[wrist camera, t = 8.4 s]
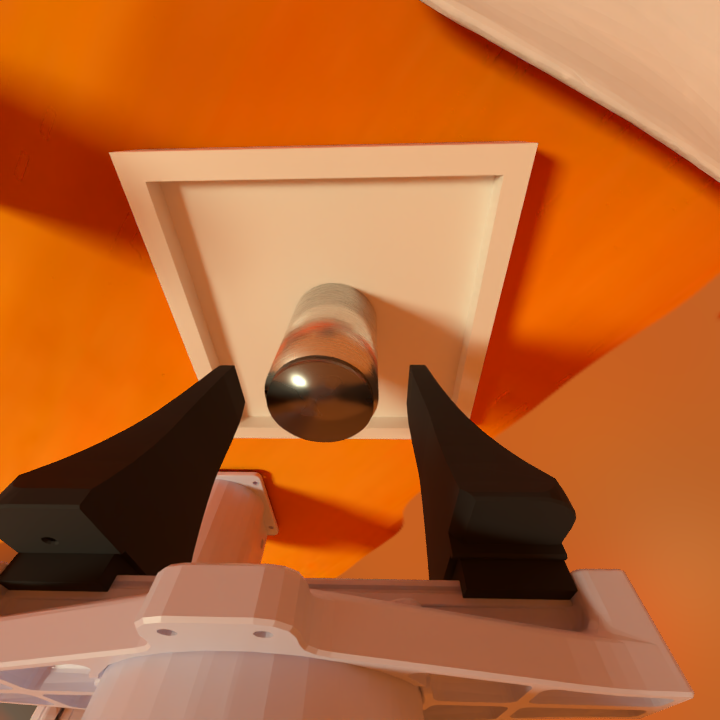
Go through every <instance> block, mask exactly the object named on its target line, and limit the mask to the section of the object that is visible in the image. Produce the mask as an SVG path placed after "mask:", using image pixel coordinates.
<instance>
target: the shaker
mask: <svg viewBox="0 0 720 720" xmlns="http://www.w3.org/2000/svg"><path fill="white" fill-rule="evenodd" d="M265 398H266V402H267V407H268V410H269V412H270V414H271V416H272V418H273V419H274V420H275V422H276V423H277V424H278V425H279V426H280V427H282V428H283V429H284V430H286V431H287V432H289V433H291V434H292V435H294V436H297V437H299V438H302V439H305V440H310V441H315V442H335V441H340V440H344V439H347V438H350V437H352V436H354V435H356V434H357V433H359V432H360V431H362V430H363V429H364V428H365V427H366V426H367V424H368V423H369V421H370V419H371V417H372V416H373V415H374V413H375V411H376V409H377V406H378V400H379V389H378V355H377V321H376V313H375V310H374V308H373V306H372V304H371V302H370V301H369V299H368V298H367V297H366V296H365V295H364V294H363V293H361V292H360V291H359V290H357V289H355V288H353V287H351V286H348V285H345V284H340V283H325V284H321V285H318V286H315V287H313V288H311V289H310V290H308V291H307V292H306V293H305V294H304V295H303V296H302V297H301V298H300V300H299V301H298V303H297V305H296V308H295V310H294V313H293V315H292V318H291V320H290V322H289V325H288V327H287V330H286V332H285V335H284V337H283V339H282V342H281V344H280V347H279V349H278V352H277V354H276V356H275V359H274V361H273V364H272V366H271V369H270V371H269V373H268V376H267V378H266V381H265Z"/></svg>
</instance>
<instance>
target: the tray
mask: <svg viewBox="0 0 720 720" xmlns="http://www.w3.org/2000/svg"><path fill="white" fill-rule="evenodd" d="M537 146H538V143H533V142H523V141H497V142H451V143H406V144H360V145H315V146H269V147H223V148H178V149H138V150H128V151H117V152H109V154H110V157H111V159H112V162H113V164H114V167H115V170H116V172H117V175H118V177H119V180H120V182H121V185H122V187H123V190H124V192H125V195H126V197H127V200H128V203H129V205H130V208H131V210H132V213H133V215H134V218H135V220H136V223H137V225H138V228H139V231H140V233H141V236H142V238H143V241H144V243H145V246H146V248H147V251H148V253H149V256H150V258H151V261H152V264H153V266H154V269H155V271H156V274H157V276H158V279H159V281H160V284H161V286H162V289H163V292H164V294H165V297H166V299H167V302H168V304H169V307H170V309H171V312H172V314H173V317H174V319H175V322H176V325H177V327H178V330H179V332H180V335H181V337H182V340H183V342H184V345H185V347H186V350H187V352H188V355H189V358H190V360H191V363H192V365H193V368H194V370H195V373H196V375H197V378H198V380H201V379H202V378H203V377H204V376H206V375H207V374H208V373H210V372H211V371H212V370H214V369H215V368H217V367H218V366H220V365H235V369H236V372H237V375H238V379H239V382H240V386H241V389H242V392H243V396H244V399H245V406H244V410H243V414H242V417H241V420H240V424H239V426H238V428H237V431H236V433H235V435H234V437H233V438H299V437H297V436H294V435H292V434H291V433H289V432H287V431H286V430H284V429H283V428H282V427H280V426H279V425H278V424H277V423H276V422H275V420H274V419H273V418H272V416H271V414H270V412H269V410H268V407H267V402H266V398H265V381H266V378H267V376H268V373H269V371H270V369H271V366H272V364H273V361H274V359H275V356H276V354H277V352H278V349H279V347H280V344H281V342H282V339H283V337H284V335H285V332H286V330H287V327H288V325H289V322H290V320H291V318H292V315H293V313H294V310H295V308H296V305H297V303H298V301H299V300H300V298H301V297H302V296H303V295H304V294H305V293H306V292H307V291H308V290H310V289H311V288H313V287H315V286H318V285H321V284H325V283H340V284H345V285H348V286H351V287H353V288H355V289H357V290H359V291H360V292H361V293H363V294H364V295H365V296H366V297H367V298H368V299H369V301H370V302H371V304H372V306H373V308H374V310H375V313H376V321H377V355H378V389H379V400H378V406H377V409H376V411H375V413H374V415H373V416H372V417H371V419H370V421H369V423H368V424H367V426H366V427H365V428H364V429H363V430H362V431H360V432H359V433H357V434H356V435H354V436H352V437H350V438H347V439H411V434H410V429H409V425H408V415H407V390H408V379H409V367H410V365H426V366H427V368H428V369H429V371H430V372H431V374H432V375H433V377H434V378H435V379H436V381H437V382H438V384H439V385H440V386H441V388H442V389H443V390H444V391H445V393H446V394H447V395H448V396H449V397H450V399H451V400H452V401H453V402H454V403H455V404H456V406H457V407H458V408H459V409H460V410H461V411H462V412H463V413H464V414H465V415H466V416H467V417H468V418H469V419H470V416H471V412H472V408H473V404H474V400H475V396H476V392H477V388H478V384H479V380H480V376H481V372H482V368H483V364H484V360H485V356H486V352H487V348H488V344H489V340H490V336H491V332H492V328H493V324H494V320H495V316H496V312H497V307H498V303H499V299H500V295H501V291H502V287H503V283H504V279H505V275H506V271H507V267H508V263H509V259H510V255H511V251H512V247H513V243H514V239H515V235H516V231H517V227H518V223H519V219H520V215H521V211H522V207H523V203H524V199H525V195H526V190H527V186H528V182H529V178H530V174H531V170H532V166H533V162H534V158H535V154H536V150H537Z"/></svg>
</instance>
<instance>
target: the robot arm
mask: <svg viewBox="0 0 720 720" xmlns="http://www.w3.org/2000/svg"><path fill="white" fill-rule="evenodd" d="M244 406H245V399H244V396H243V392H242V389H241V386H240V382H239V379H238V375H237V372H236V369H235V365H220V366H218V367H217V368H215V369H214V370H212V371H211V372H210V373H208V374H207V375H206V376H204V377H203V378H202V379H201V380H199V381H198V382H197V383H195V384H194V385H193V386H191V387H190V388H189V389H187V390H186V391H185V392H183V393H182V394H181V395H179V396H178V397H177V398H175V399H174V400H172V401H171V402H169V403H168V404H166V405H165V406H164V407H162V408H161V409H159V410H158V411H156V412H155V413H153V414H152V415H150V416H148V417H147V418H145V419H143V420H142V421H140V422H138V423H137V424H135V425H133V426H131V427H130V428H128V429H126V430H124V431H122V432H120V433H118V434H116V435H114V436H112V437H110V438H108V439H106V440H105V441H103V442H101V443H98V444H96V445H94V446H92V447H90V448H88V449H85V450H83V451H81V452H78V453H76V454H74V455H71V456H69V457H67V458H64V459H62V460H59V461H57V462H54V463H51V464H49V465H46V466H43V467H40V468H38V469H35V470H32V471H30V472H27V473H24V474H21V475H19V476H18V477H17V478H16V479H15V480H14V481H13V482H12V483H11V484H10V485H9V486H8V487H7V488H6V489H5V490H4V491H3V492H2V493H1V494H0V539H1V540H2V541H4V542H5V543H6V544H8V545H9V546H10V547H11V548H13V549H14V550H15V551H17V552H19V553H18V554H17V555H16V556H15V557H14V559H13V560H12V561H11V562H10V563H7V562H3V561H0V702H1V703H14V704H27V705H38V706H37V708H36V710H35V712H34V713H33V715H32V717H31V719H30V720H523V719H559V718H622V719H640V718H643V717H645V716H648V715H651V714H653V713H656V712H658V711H661V710H663V709H666V708H669V707H671V706H673V705H676V704H678V703H681V702H684V701H686V700H689V699H691V698H693V696H694V691H693V690H692V688H691V686H690V685H689V683H688V681H687V679H686V678H685V676H684V674H683V672H682V671H681V669H680V667H679V665H678V664H677V662H676V660H675V659H674V657H673V655H672V653H671V652H670V650H669V648H668V646H667V645H666V643H665V641H664V640H663V638H662V636H661V634H660V633H659V631H658V629H657V628H656V626H655V624H654V622H653V621H652V619H651V617H650V615H649V614H648V612H647V610H646V608H645V607H644V605H643V603H642V602H641V600H640V598H639V596H638V595H637V593H636V591H635V589H634V588H633V586H632V584H631V583H630V581H629V579H628V577H627V576H626V574H625V572H624V571H622V570H619V569H579V570H575V571H572V572H571V573H570V572H569V570H568V568H567V566H566V563H565V561H564V560H566V559H567V554H566V552H565V549H564V547H563V545H562V541H563V540H564V538H565V537H566V535H567V534H568V532H569V531H570V530H571V528H572V526H573V524H574V522H575V519H576V514H575V510H574V509H573V507H572V505H571V503H570V501H569V499H568V497H567V496H566V494H565V493H564V491H563V489H562V488H561V486H560V485H559V483H558V482H557V480H556V479H555V478H553V477H551V476H550V475H548V474H546V473H544V472H543V471H541V470H539V469H537V468H535V467H534V466H532V465H530V464H528V463H527V462H525V461H524V460H522V459H520V458H519V457H517V456H516V455H514V454H513V453H511V452H510V451H508V450H507V449H506V448H504V447H503V446H501V445H500V444H499V443H497V442H496V441H495V440H493V439H492V438H491V437H489V436H488V435H487V434H486V433H484V432H483V431H482V430H481V429H480V428H479V427H477V426H476V425H475V424H474V423H473V422H472V421H471V420H470V419H469V418H468V417H467V416H466V415H465V414H464V413H463V412H462V411H461V410H460V409H459V408H458V407H457V406H456V404H455V403H454V402H453V401H452V400H451V399H450V397H449V396H448V395H447V394H446V393H445V391H444V390H443V389H442V388H441V386H440V385H439V384H438V382H437V381H436V379H435V378H434V377H433V375H432V374H431V372H430V371H429V369H428V368H427V366H426V365H410V367H409V379H408V390H407V415H408V425H409V429H410V434H411V439H412V444H413V448H414V453H415V458H416V462H417V467H418V472H419V478H420V485H421V494H422V503H423V513H424V523H425V534H426V544H427V557H428V569H429V580H395V579H394V580H392V579H391V580H389V579H332V578H304V577H303V576H302V575H301V574H300V573H299V572H298V571H295V570H293V569H291V568H288V567H286V566H280V565H273V564H260V563H261V559H262V555H263V551H264V547H265V543H266V539H267V535H277V534H278V531H279V529H278V526H277V522H276V519H275V516H274V513H273V510H272V507H271V504H270V500H269V497H268V494H267V491H266V488H265V485H264V482H263V478H262V476H261V474H260V473H257V472H218V471H219V469H220V466H221V464H222V462H223V460H224V457H225V455H226V453H227V451H228V449H229V446H230V444H231V442H232V440H233V437H234V435H235V433H236V431H237V428H238V426H239V424H240V420H241V417H242V414H243V410H244Z"/></svg>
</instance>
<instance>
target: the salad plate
mask: <svg viewBox="0 0 720 720" xmlns="http://www.w3.org/2000/svg"><path fill="white" fill-rule="evenodd" d="M419 1H421V2H423V3H424V4H426V5H428V6H429V7H431V8H433V9H434V10H436V11H438V12H439V13H441V14H442V15H444V16H446V17H447V18H449V19H451V20H452V21H454V22H456V23H457V24H459V25H461V26H463V27H465V28H467V29H469V30H471V31H473V32H475V33H477V34H479V35H480V36H482V37H484V38H485V39H487V40H489V41H490V42H492V43H494V44H496V45H498V46H499V47H501V48H503V49H505V50H506V51H508V52H510V53H512V54H514V55H515V56H517V57H519V58H521V59H522V60H524V61H526V62H528V63H530V64H531V65H533V66H535V67H537V68H538V69H540V70H542V71H544V72H546V73H547V74H549V75H551V76H552V77H554V78H556V79H558V80H559V81H561V82H563V83H564V84H566V85H568V86H569V87H571V88H573V89H575V90H576V91H578V92H580V93H581V94H583V95H585V96H586V97H588V98H590V99H591V100H593V101H595V102H596V103H598V104H600V105H601V106H603V107H605V108H606V109H608V110H610V111H612V112H613V113H615V114H617V115H618V116H620V117H622V118H623V119H625V120H627V121H628V122H630V123H632V124H633V125H635V126H636V127H638V128H639V129H641V130H643V131H644V132H646V133H647V134H649V135H650V136H652V137H653V138H655V139H657V140H658V141H660V142H661V143H663V144H664V145H666V146H667V147H669V148H670V149H672V150H673V151H675V152H676V153H678V154H679V155H681V156H682V157H684V158H685V159H686V160H688V161H689V162H691V163H692V164H694V165H695V166H696V167H698V168H699V169H701V170H702V171H704V172H705V173H707V174H708V175H709V176H711V177H712V178H714V179H715V180H717V181H718V182H719V183H720V0H419Z"/></svg>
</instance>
